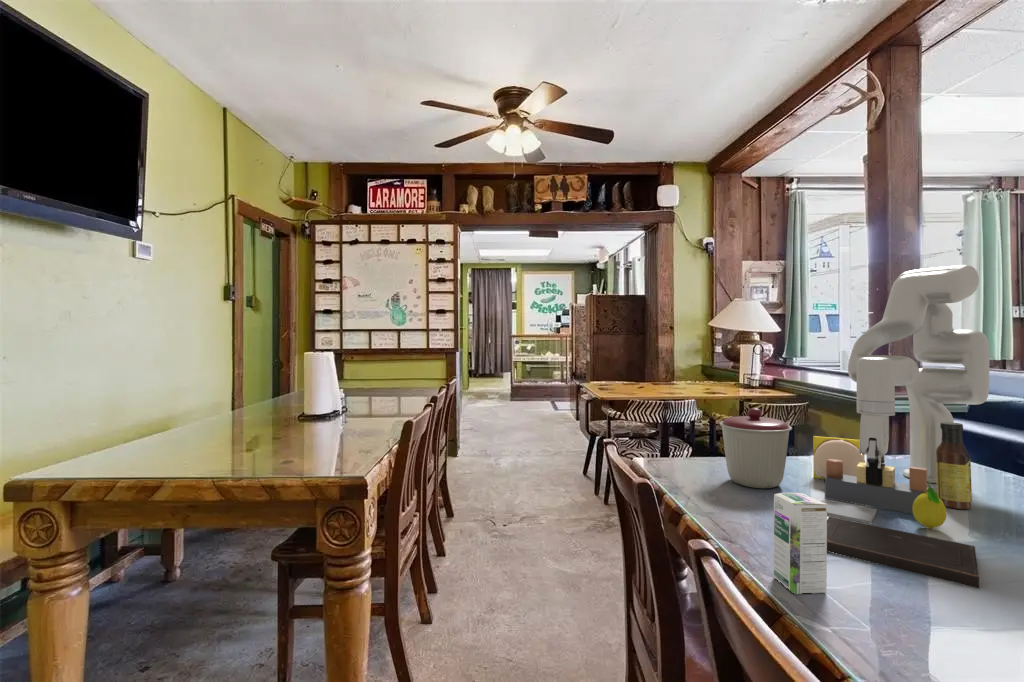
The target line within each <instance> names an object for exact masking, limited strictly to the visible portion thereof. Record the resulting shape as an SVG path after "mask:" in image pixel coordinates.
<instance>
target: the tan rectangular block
mask: <svg viewBox="0 0 1024 682" xmlns="http://www.w3.org/2000/svg"><path fill="white" fill-rule="evenodd" d="M881 469H882V487H889V488H893V486H894V484H895V483H896V478H895V477H896V473H895V471H896V467H895V466H890V465H885V466H883V465H881ZM857 482H858V483H864V484H867V483H866V462H865V463H862V462H860V463H859V464H858V465H857ZM870 485H872V484H870ZM876 486H878V485H876Z"/></svg>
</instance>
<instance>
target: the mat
mask: <svg viewBox="0 0 1024 682" xmlns="http://www.w3.org/2000/svg"><path fill="white" fill-rule="evenodd" d="M823 503H825V504H827V516H829V517H834V518H839V519H844V520H849V521H854V522H859V523H864V524H868V523H870V524H869V525H872V523H873V521H874V518H875V517H876V515H877V513H878V508H873V507H869V506H863V505H858V504H853V503H851V504H850V503H848V502H842V501H837V500H832V499H826V500H825V501H824V502H823Z"/></svg>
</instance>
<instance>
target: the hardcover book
mask: <svg viewBox="0 0 1024 682" xmlns="http://www.w3.org/2000/svg"><path fill="white" fill-rule="evenodd" d="M827 551H830V552H829V553H831V552H834V553H833V554H835V553H837V554H836V555H839V554H841V555H840V556H844V555H845V556H844V557H848V556H849V558H852V557H854V558H853V559H856V558H857V559H856V560H860V559H861V560H860V561H864V560H865V562H868V561H870V562H869V563H872V562H873V564H876V563H878V565H881V564H882V565H881V566H885V565H886V566H885V567H889V568H894V569H898V570H902V571H906V572H910V573H914V574H917V575H918V574H919V575H922V576H927V577H931V578H935V579H938V580H942V581H947V582H949V583H954V584H955V583H956V584H960V585H964V586H967V587H971V588H975V589H980V575H979V567H978V561H977V560H978V559H977V552H976V546H975V545H971V544H966V543H962V542H957V541H952V540H946V539H942V538H937V537H932V536H928V535H922V534H917V533H912V532H907V531H903V530H898V529H897V530H896V529H892V528H887V527H882V526H877V525H873V524H868V523H864V522H859V521H854V520H849V519H844V518H839V517H835V516H828V517H827Z"/></svg>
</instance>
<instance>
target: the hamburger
mask: <svg viewBox="0 0 1024 682" xmlns="http://www.w3.org/2000/svg"><path fill="white" fill-rule="evenodd" d="M812 438H813V444H812V447H813V451H812V452H813V453H812V454H813V459H812V460H813V461H812V463H813V478H814V479H819V478H821V479H820V480H825V478H826V477H827V476H826V460H827V459H836V460H841V461H843V474H844V475H850V476H857V465H858V464H859V463H860V462H862V463H866V460H865V453H864V454H860V453H859V445H860V439H851V438H843V437H842V438H841V437H834V436H831V437H828V436H818V435H813V437H812Z"/></svg>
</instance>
